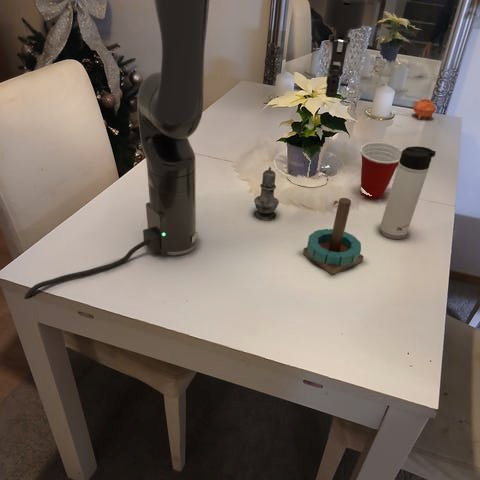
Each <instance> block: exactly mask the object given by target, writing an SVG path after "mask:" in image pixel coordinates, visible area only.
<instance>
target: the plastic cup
mask: <svg viewBox="0 0 480 480" xmlns="http://www.w3.org/2000/svg"><path fill="white" fill-rule="evenodd" d="M359 151H360V155H361V170H360V188H361V187H362V188H363V189H364V190H365V191H366V192H367V193H369V194H370V195H372V196H369V195H366V194H364V193H362V194H361V193H360V195H361V196H362V197H364V198H366V199H369V200H380V199H382V197H383V196H384V194H385V192H386V190H387V187H388V186H389V184H390V182H391V180H392V178H393V176H394V175H395V173H396V170H397V166H398V164H399V160H400V158H401V154H402V151H403V150H402V149H401V148H400V147H399V146H397V145H395V144H393V143H392V144H391V143H388V142H384V141H383V142H381V141H372V142H371V141H369V142H367V143H364V144H362V145H361V146H360V150H359Z"/></svg>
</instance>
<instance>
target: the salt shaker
mask: <svg viewBox="0 0 480 480" xmlns="http://www.w3.org/2000/svg"><path fill="white" fill-rule="evenodd" d="M276 176H277V175H276V172H275V171H274V170H272V167H271V166H269V167H268V169H266V170H264V171H263V173H262V182H261V184H260V185H259V186H260V188H261V189H260V195H258V196H256V197H255V198H254V200H253V203H254V205H255V209H256V210H255V211H254V212H253V214H254V217H255V218H256V219H258V220H261V221H272V220H274V219H276V217H277V213H276V212H275V211H276V209H277V208H278V205H279V204H280V201H279V199H278V198H277V197H275V189H277V186H276V184H275V183H276Z"/></svg>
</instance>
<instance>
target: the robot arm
mask: <svg viewBox="0 0 480 480" xmlns="http://www.w3.org/2000/svg"><path fill="white" fill-rule="evenodd" d="M153 3H154V7H155V13H156V18H157V23H158V27H159V34H160V40H161V66H160V71H156V72H153V73H150V74H149V75H148V76H146V77H145V78H144V79H143V80H142V82H141V84H140V86H139V89H138V92H137V101H136V102H137V104H136V105H137V107H136V108H137V118H138V119H137V120H138V127H139V136H140V143H141V148H142V152H143V154H144V158H145V162H146V169H147V170H146V171H147V172H146V173H147V186H148V197H149V199H148V200H149V202H146V203H145V211H146V225H147V228H144V229H143V230H142V234H143V241H141V242H140V243H138V244H136V245H135V246H133V247H132V248H130V249H129V250H128V252H127V253H126V254H125V255H124V256H123V257H122V258H120V259H118V260H116V261H114V262H111V263H108V264H104V265H101V266H96V267H93V268H90V269H85V270H82V271H78V272H72V273H68V274H64V275H61V276H57V277H54V278H51V279H47V280H44V281H41V282H37V283H36V284H34V285H33V286H32V287H30V289H29V290H27V292H26V294H25V295H24V297H23V299H24V300H28V299H30V298H31V297H32V295H34V293H36V292H37V291H38V290H40V289H41V288H44V287H47V286H50V285H51V286H52V285H54V284H57V283H60V282H63V281H66V280H70V279H76V278H79V277H84V276H88V275H92V274H95V273H98V272H102V271H106V270H109V269H112V268H115V267H118V266H120V265H122V264H123V263H125V262H127V261H128V260H129V259H130V258H131V257H132V255H133V254H135V253H136V252H137V251H139V250H140V249H142V248H143V247H145V246H147V247H148V248H149V249H150V250H151V251H152V252H153V253H156V252H157V253H158V254H159V255H160V256H161V257H166V256H182V255H186V254H189V253H191V252H192V251H193V250H194V249H195V248H196V247H197V238H198V237H199V231H198V230H197V229H196V228H197V203H196V202H197V200H196V199H197V198H196V197H197V196H196V195H197V192H196V190H197V189H196V187H197V186H196V185H197V184H196V183H197V181H196V180H197V179H196V178H197V177H196V176H197V175H196V174H197V172H196V169H197V168H196V160H197V159H196V154H195V151H194V149H193V147H192V145H191V143H190V140H189V138H190V137H191V136H192V135H193V134H194V133H195V132H196V131H197V129H198V127H199V125H200V123H201V120H202V117H203V111H204V92H205V91H204V86H205V85H204V84H205V83H204V82H205V81H204V80H205V78H204V77H205V51H206V50H205V48H206V41H207V33H208V31H207V30H208V21H209V9H210V0H153ZM367 6H368V0H325V3H324V9H323V15H322V23H323V25H324V26H326V27H328V28H333V30H332V31H333V34H330V35H329V38H328V47H327V48H328V52H327V65H328V68H327V69H328V70H327V75H326V82H325V83H326V88H325V97H327V98H331V99H335V98H337V95H338V91H339V85H340V79H341V77H342V76H343V74H344V71H343V70H344V66H345V65H346V62H347V57H348V52H349V50H350V46H351V36H348V33H349V31H350V30H359V29H361V28H362V27H363V25H364V22H365V21H364V20H365V15H366V10H367Z"/></svg>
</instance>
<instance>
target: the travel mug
mask: <svg viewBox="0 0 480 480" xmlns="http://www.w3.org/2000/svg"><path fill="white" fill-rule="evenodd" d="M436 152H437V151H435V150H433V149H431V148H429V147H425V146H407V147H405V148H404V149H403V150H402V154H401V158H400V160H399V164H398V166H397V167H396V170H395V172H394V177H393V180H392V184H391V188H390V190H389V194H388V197H387V200H386V201H387V202H386V205H385V208H384V212H383V215H382V219H381V222H380V226H379V232H380V234H381V235H383V236H384V237H386V238H387V239H392V240H401V239H404V238H405V237H406V236H407V235H408V232H409V229H410V225H411V223H412V220H413V217H414V213H415V211H416V207H417V205H418V202H419V199H420V196H421V193H422V190H423V187H424V183H425V181H426V178H427V175H428V172H429V170H430V169H429V168H430V165H431V162H432V158H434V157H435V156H436V154H437V153H436Z"/></svg>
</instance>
